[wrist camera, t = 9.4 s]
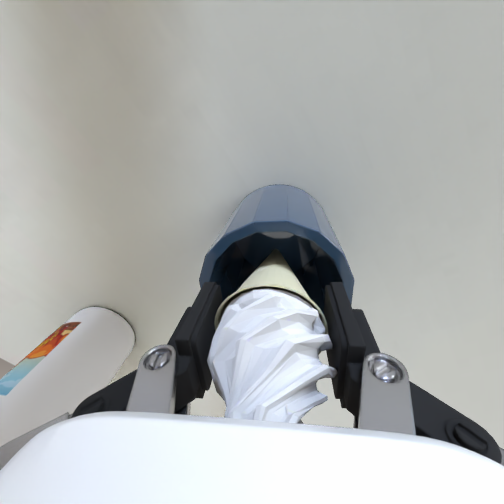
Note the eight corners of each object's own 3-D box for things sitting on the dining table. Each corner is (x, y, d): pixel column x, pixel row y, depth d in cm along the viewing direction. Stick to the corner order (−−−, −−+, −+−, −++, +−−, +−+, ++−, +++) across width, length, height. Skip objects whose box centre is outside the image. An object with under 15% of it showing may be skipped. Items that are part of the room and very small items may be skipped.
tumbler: (225, 187, 21) (187, 223, 12) (330, 181, 19) (362, 217, 11) (236, 274, 24) (211, 346, 16) (324, 273, 23) (346, 350, 15)
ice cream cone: (317, 274, 19) (397, 645, 5) (253, 286, 20) (185, 613, 6) (303, 211, 17) (374, 550, 3) (233, 228, 18) (73, 529, 4)
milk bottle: (122, 302, 28) (-174, 616, 10) (146, 352, 31) (-44, 656, 13) (64, 306, 29) (-288, 587, 11) (92, 353, 32) (-146, 630, 14)
